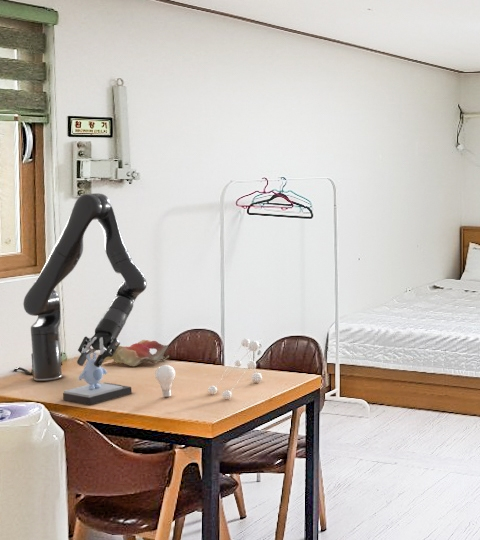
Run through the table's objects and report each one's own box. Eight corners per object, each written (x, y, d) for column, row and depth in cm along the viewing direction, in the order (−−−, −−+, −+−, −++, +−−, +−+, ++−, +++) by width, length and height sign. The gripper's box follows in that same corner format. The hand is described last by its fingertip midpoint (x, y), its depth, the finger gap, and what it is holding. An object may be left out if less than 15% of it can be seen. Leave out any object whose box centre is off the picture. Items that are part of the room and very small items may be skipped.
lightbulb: (170, 394, 297) (168, 362, 295) (180, 396, 293) (178, 364, 291) (153, 397, 292) (151, 365, 291) (163, 400, 288) (161, 368, 287)
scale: (63, 400, 291) (62, 390, 291) (104, 389, 305) (104, 380, 304) (90, 405, 284) (89, 395, 284) (131, 393, 298) (131, 384, 298)
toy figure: (86, 393, 287) (83, 357, 286) (74, 391, 290) (71, 355, 289) (113, 385, 296) (111, 351, 295) (101, 383, 299) (99, 349, 298)
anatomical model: (141, 370, 332) (135, 345, 331) (97, 376, 343) (91, 351, 342) (185, 355, 353) (179, 331, 352) (141, 361, 363) (136, 337, 362)
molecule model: (275, 387, 310) (282, 341, 305) (225, 408, 288) (232, 358, 283) (244, 374, 315) (251, 328, 310) (193, 393, 293) (199, 344, 288)
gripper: (88, 316, 300) (64, 357, 290) (122, 318, 295) (98, 360, 285) (101, 329, 305) (77, 370, 296) (134, 331, 300) (111, 372, 291)
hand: (87, 365), depth 290 cm, fingers open, 6 cm apart
